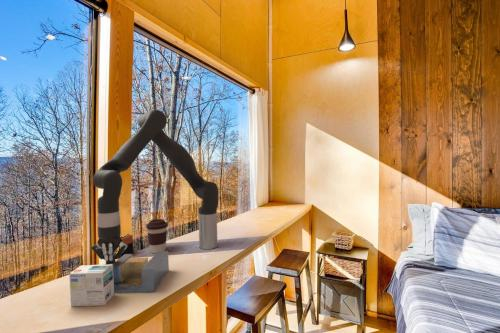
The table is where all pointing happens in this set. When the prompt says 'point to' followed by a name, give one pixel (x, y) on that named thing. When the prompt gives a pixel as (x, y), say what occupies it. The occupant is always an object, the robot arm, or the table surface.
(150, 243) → the coffee cup
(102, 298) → the light bulb box
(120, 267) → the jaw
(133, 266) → the block
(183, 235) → the table surface
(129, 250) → the battery
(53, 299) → the table surface
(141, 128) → the robot arm
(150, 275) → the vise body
